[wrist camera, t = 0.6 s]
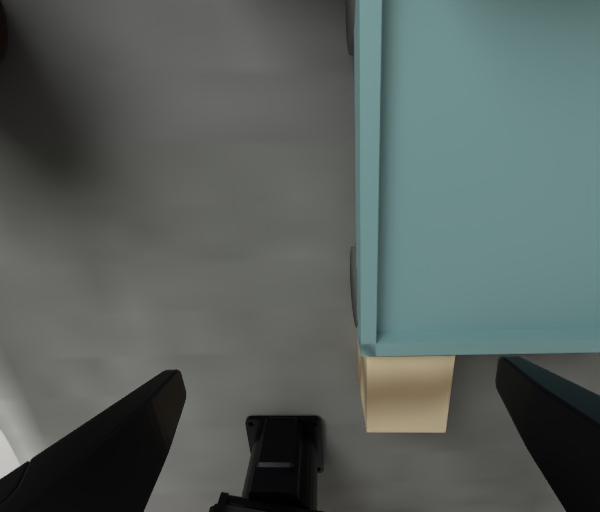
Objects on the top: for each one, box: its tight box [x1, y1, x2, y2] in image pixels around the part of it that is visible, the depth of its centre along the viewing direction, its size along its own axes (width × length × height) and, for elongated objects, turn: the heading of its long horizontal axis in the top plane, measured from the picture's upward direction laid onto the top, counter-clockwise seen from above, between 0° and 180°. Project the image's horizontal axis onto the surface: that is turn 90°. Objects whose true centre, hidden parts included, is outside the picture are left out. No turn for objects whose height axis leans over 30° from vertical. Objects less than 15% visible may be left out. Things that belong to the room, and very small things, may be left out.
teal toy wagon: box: [346, 0, 600, 356], centre depth 13 cm, size 20×14×11 cm
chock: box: [358, 344, 455, 433], centre depth 21 cm, size 6×5×5 cm
